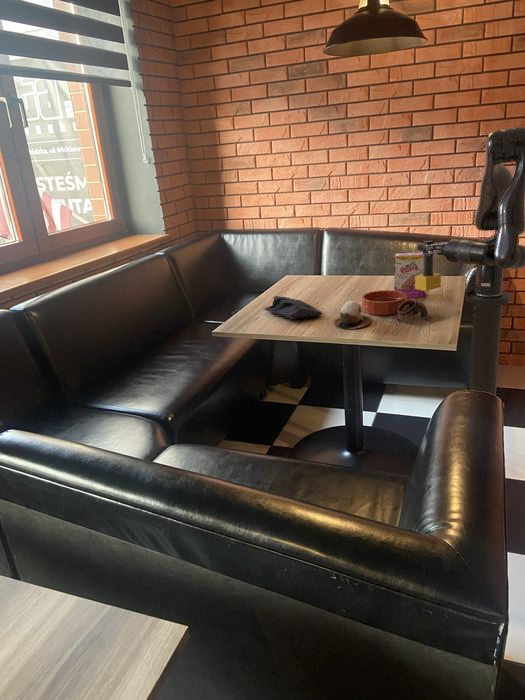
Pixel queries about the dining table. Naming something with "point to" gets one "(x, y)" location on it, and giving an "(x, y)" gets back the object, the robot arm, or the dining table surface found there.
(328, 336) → the dining table surface
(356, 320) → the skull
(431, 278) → the sponge wand
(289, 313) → the folded black cloth
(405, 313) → the pottery mug
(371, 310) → the terracotta ring
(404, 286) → the candy bar box
